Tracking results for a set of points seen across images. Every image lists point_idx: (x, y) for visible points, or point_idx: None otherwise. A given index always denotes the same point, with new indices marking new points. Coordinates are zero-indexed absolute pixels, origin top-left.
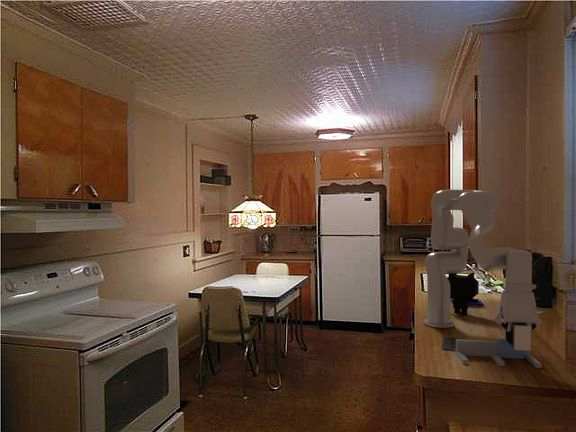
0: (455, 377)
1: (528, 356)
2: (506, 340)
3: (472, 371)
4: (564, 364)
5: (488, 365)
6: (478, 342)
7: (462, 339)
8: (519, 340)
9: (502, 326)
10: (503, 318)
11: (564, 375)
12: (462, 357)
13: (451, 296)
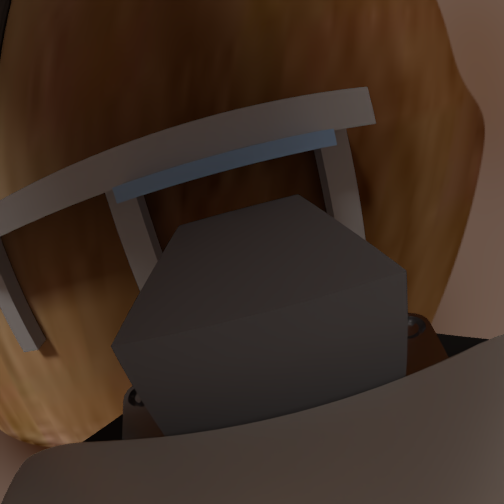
0: (60, 439)
1: (326, 170)
2: (178, 230)
3: (80, 397)
4: (461, 168)
5: (115, 325)
6: (13, 229)
7: (5, 4)
8: None
9: (110, 438)
10: (73, 455)
11: (421, 306)
12: (13, 327)
13: None
